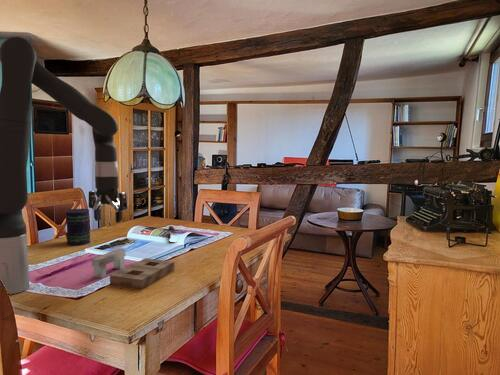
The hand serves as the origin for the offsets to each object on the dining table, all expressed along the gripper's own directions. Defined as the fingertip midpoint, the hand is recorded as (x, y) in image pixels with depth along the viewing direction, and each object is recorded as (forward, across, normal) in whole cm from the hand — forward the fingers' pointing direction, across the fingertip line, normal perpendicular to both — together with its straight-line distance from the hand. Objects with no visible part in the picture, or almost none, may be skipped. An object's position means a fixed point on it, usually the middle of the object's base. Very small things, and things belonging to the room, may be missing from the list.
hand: (108, 221), depth 135 cm
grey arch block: (+18, 0, 0) cm, 18 cm away
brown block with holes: (+18, +14, 0) cm, 23 cm away
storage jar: (+18, -39, +28) cm, 51 cm away
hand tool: (+19, -5, +51) cm, 54 cm away
